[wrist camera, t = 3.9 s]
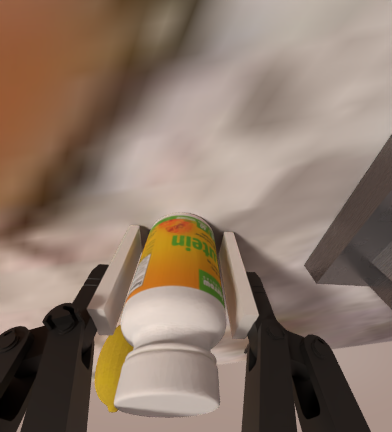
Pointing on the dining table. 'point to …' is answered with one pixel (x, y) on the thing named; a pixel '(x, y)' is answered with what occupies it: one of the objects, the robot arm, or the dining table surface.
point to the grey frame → (361, 235)
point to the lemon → (111, 367)
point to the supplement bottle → (173, 323)
